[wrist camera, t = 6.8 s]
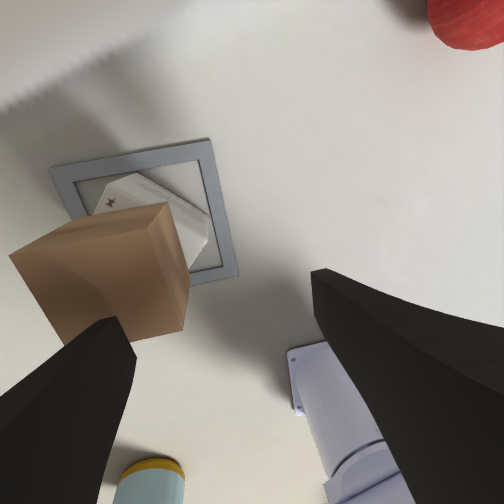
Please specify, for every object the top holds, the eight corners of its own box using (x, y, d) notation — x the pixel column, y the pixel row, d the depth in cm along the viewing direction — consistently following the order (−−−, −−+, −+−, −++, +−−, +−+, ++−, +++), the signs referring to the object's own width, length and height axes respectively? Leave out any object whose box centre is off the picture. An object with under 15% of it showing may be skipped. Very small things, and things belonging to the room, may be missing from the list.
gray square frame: (238, 274, 20) (238, 275, 20) (112, 301, 20) (111, 302, 19) (210, 140, 16) (210, 140, 16) (49, 167, 15) (47, 168, 15)
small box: (98, 239, 18) (61, 272, 13) (135, 169, 16) (106, 178, 12) (173, 275, 20) (162, 314, 15) (211, 215, 18) (211, 238, 14)
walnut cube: (190, 277, 14) (182, 330, 10) (111, 294, 14) (70, 355, 10) (167, 201, 13) (146, 228, 9) (75, 218, 12) (8, 255, 8)
